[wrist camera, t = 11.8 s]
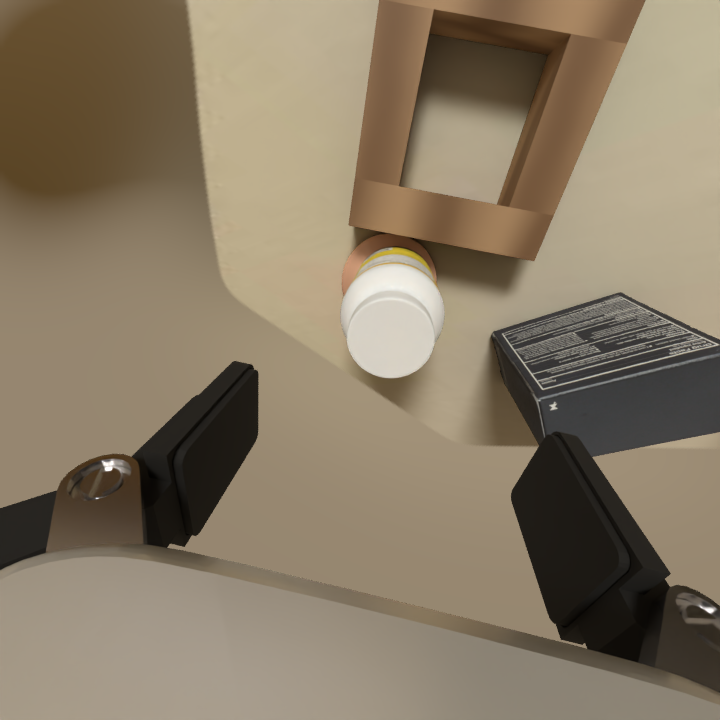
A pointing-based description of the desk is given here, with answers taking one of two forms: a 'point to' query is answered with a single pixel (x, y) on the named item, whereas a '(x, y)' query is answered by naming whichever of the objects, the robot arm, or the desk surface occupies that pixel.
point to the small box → (612, 375)
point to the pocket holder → (540, 132)
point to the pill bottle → (392, 313)
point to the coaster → (375, 244)
